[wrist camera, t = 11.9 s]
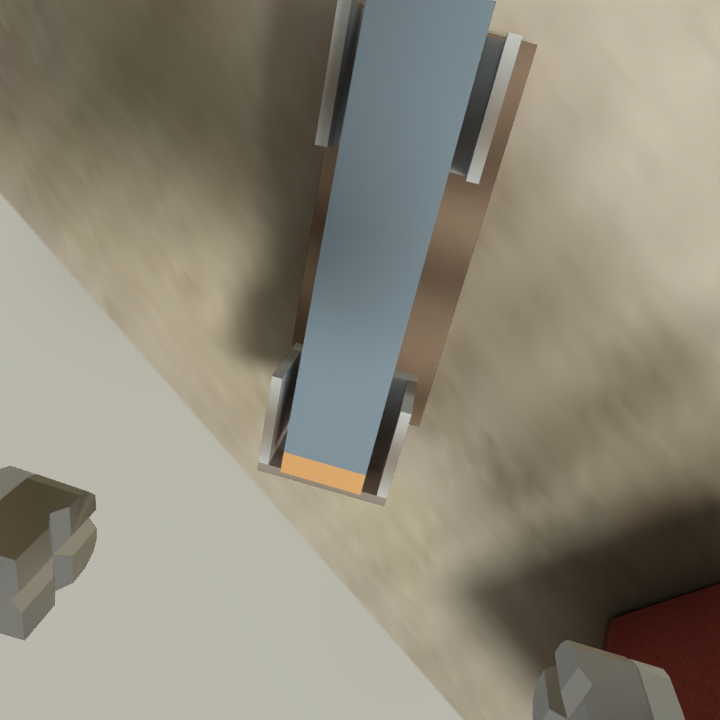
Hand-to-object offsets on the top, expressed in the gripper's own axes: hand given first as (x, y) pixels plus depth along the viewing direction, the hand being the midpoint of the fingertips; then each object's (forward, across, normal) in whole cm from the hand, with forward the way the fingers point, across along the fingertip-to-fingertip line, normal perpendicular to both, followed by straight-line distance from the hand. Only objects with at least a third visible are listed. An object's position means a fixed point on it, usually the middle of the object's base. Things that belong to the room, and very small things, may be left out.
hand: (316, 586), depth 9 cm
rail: (+18, +2, 0) cm, 18 cm away
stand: (+24, +2, 0) cm, 24 cm away
